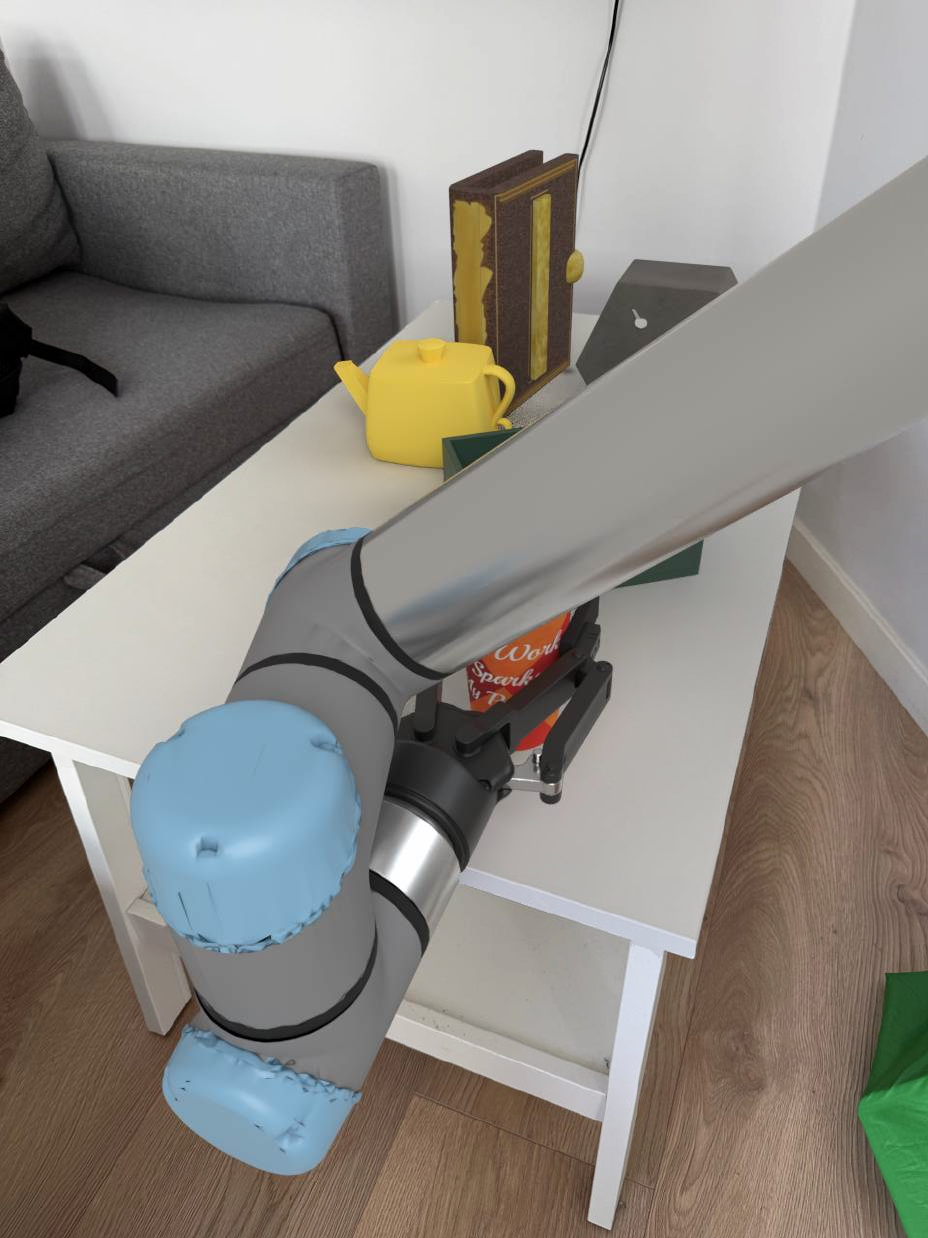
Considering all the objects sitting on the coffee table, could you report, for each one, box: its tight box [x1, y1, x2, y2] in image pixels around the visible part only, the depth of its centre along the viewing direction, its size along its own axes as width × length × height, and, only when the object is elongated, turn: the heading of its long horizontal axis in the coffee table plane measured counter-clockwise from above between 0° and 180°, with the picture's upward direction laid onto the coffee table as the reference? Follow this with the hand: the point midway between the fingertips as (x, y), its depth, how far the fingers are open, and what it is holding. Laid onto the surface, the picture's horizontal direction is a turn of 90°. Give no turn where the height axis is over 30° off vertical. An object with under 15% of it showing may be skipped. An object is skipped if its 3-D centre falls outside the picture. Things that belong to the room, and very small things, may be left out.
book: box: [448, 149, 585, 418], centre depth 107 cm, size 22×8×25 cm, turn 148°
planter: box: [575, 258, 739, 386], centre depth 99 cm, size 17×8×21 cm
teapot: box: [333, 337, 515, 469], centre depth 100 cm, size 20×12×12 cm, turn 76°
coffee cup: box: [465, 610, 572, 752], centre depth 60 cm, size 8×8×15 cm
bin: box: [442, 426, 705, 589], centre depth 86 cm, size 19×19×7 cm
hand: (539, 588), depth 63 cm, fingers closed on coffee cup, 7 cm apart
